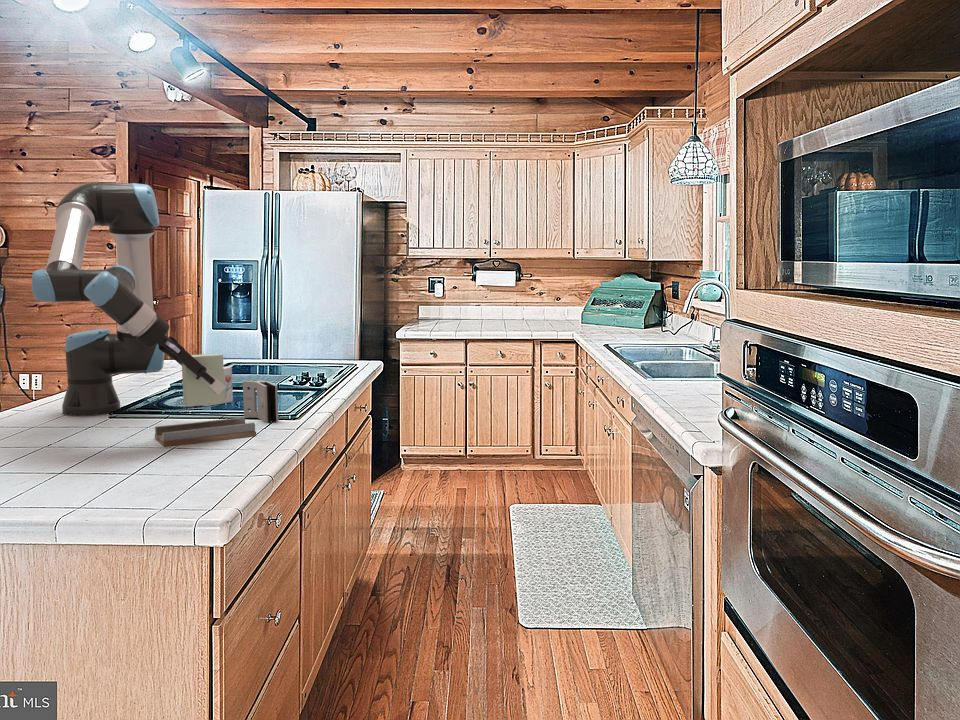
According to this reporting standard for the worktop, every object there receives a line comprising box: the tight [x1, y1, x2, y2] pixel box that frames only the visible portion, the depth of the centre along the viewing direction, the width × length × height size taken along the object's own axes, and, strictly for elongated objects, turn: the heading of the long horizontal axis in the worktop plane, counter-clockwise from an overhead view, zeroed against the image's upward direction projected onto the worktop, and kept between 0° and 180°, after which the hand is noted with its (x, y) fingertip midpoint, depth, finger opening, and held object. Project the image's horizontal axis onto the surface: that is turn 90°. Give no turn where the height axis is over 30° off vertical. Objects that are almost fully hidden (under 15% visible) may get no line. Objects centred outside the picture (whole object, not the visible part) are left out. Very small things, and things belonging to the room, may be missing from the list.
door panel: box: [181, 353, 226, 407], centre depth 207 cm, size 4×9×12 cm, turn 123°
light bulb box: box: [199, 366, 234, 407], centre depth 254 cm, size 11×7×11 cm, turn 147°
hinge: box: [242, 380, 279, 424], centre depth 232 cm, size 14×5×10 cm, turn 43°
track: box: [154, 416, 257, 448], centre depth 209 cm, size 11×22×3 cm, turn 123°
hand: (219, 389), depth 209 cm, fingers closed on door panel, 4 cm apart
